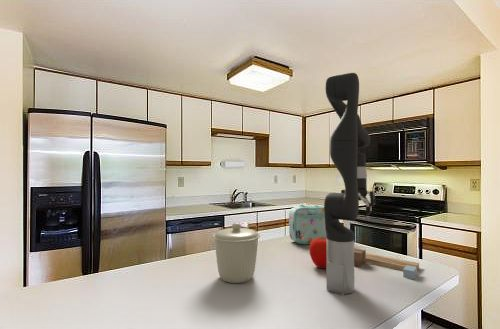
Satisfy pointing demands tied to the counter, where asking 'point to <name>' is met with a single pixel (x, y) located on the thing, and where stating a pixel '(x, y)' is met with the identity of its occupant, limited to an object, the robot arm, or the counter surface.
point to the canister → (236, 253)
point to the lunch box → (306, 223)
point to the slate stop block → (410, 272)
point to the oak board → (389, 262)
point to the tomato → (319, 252)
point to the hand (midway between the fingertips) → (357, 214)
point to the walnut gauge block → (359, 257)
